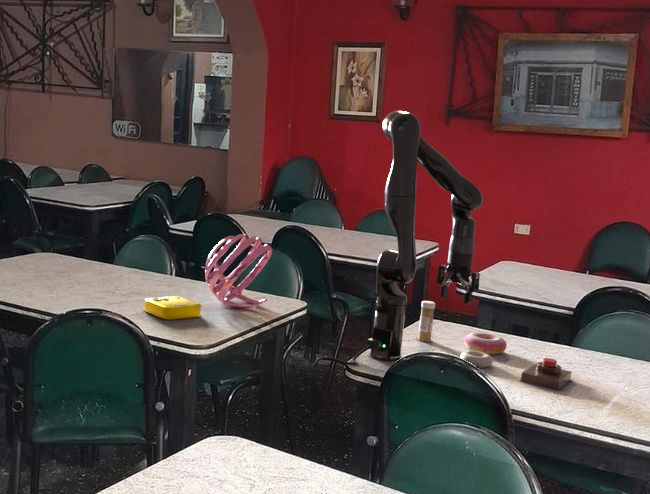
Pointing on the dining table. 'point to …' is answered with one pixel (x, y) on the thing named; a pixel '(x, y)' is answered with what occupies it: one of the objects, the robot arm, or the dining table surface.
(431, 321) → the sprinkles bottle
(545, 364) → the light button
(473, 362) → the donut
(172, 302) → the element tile
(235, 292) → the spiral basket
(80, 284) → the dining table surface
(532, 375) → the switch block
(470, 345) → the donut
